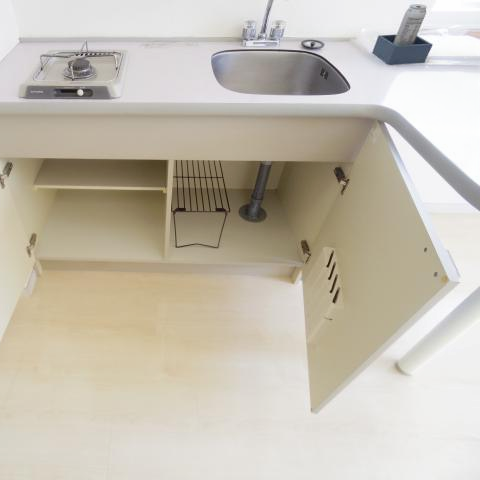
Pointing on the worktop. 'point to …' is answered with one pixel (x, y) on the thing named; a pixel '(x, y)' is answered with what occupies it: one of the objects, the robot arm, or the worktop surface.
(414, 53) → the bin
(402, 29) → the energy drink can
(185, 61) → the worktop surface
